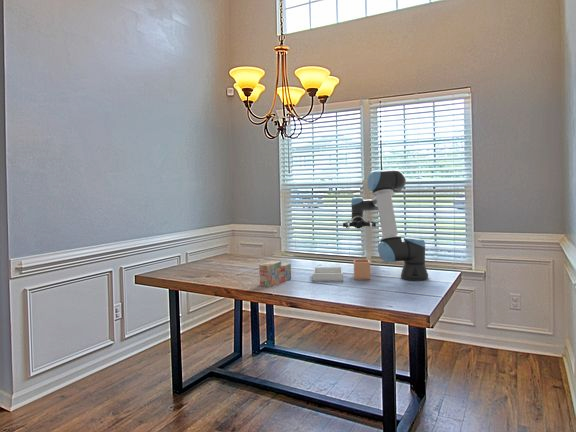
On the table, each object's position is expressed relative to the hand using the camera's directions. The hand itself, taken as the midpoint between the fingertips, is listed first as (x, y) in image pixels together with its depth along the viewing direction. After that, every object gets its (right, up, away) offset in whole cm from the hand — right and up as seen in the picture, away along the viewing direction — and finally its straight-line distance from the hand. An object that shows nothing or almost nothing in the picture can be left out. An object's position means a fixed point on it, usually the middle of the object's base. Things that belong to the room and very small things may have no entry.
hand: (360, 226), depth 251 cm
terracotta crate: (0, -30, -7) cm, 31 cm away
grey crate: (-20, -30, -5) cm, 37 cm away
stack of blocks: (-51, -32, -11) cm, 61 cm away
